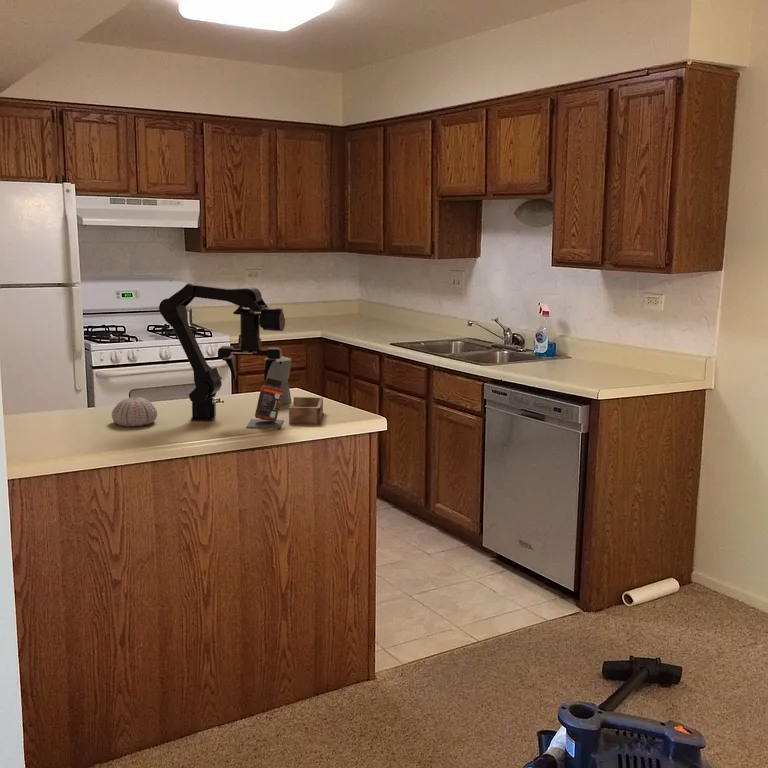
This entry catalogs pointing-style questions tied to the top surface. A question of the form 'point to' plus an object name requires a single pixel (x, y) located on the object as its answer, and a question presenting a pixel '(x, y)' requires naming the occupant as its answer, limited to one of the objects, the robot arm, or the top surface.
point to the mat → (264, 423)
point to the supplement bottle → (269, 400)
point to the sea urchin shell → (134, 412)
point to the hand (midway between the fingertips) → (250, 380)
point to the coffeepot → (281, 376)
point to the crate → (306, 410)
